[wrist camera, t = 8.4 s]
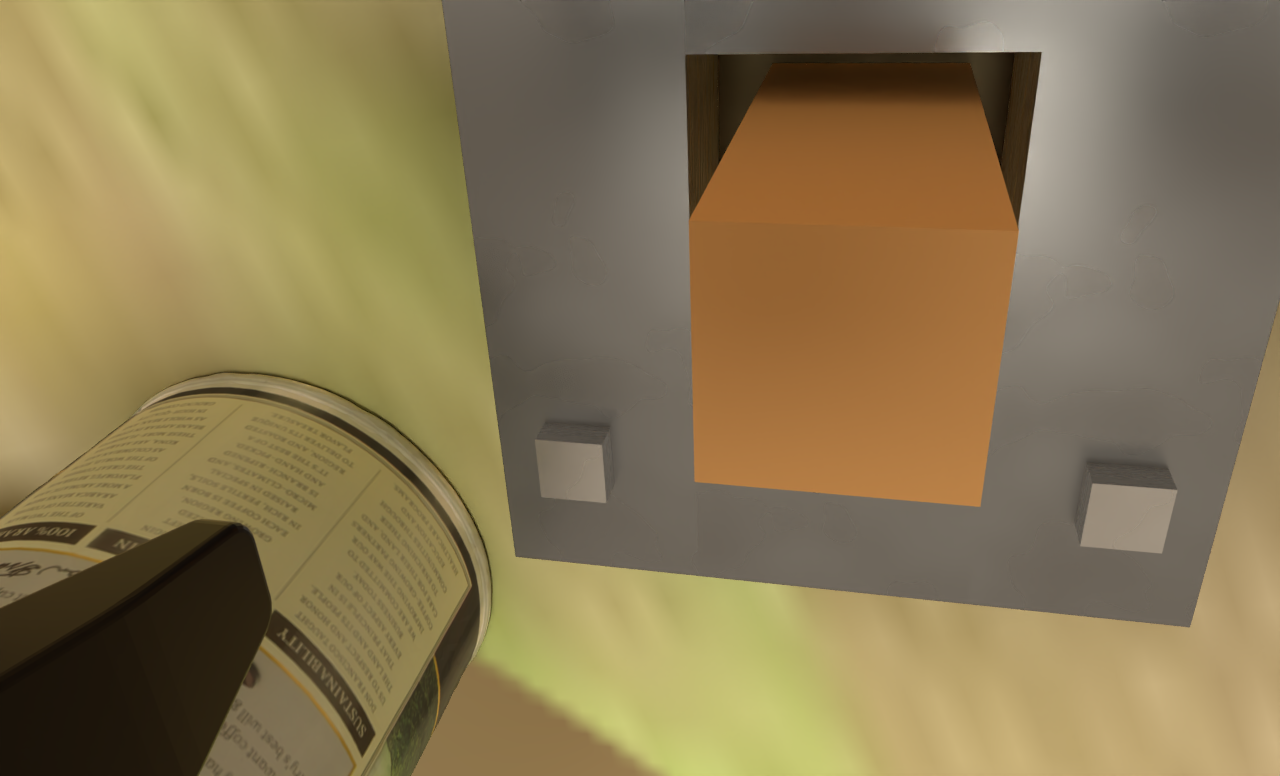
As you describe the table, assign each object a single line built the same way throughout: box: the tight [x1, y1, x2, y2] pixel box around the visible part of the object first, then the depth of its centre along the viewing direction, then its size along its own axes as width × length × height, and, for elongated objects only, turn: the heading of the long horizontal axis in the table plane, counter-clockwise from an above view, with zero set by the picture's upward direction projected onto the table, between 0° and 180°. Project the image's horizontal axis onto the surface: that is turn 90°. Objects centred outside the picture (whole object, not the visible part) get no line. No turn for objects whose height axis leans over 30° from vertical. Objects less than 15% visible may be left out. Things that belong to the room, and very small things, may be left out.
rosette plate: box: [442, 0, 1280, 627], centre depth 16 cm, size 12×14×4 cm
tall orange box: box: [689, 63, 1019, 507], centre depth 14 cm, size 3×3×8 cm
